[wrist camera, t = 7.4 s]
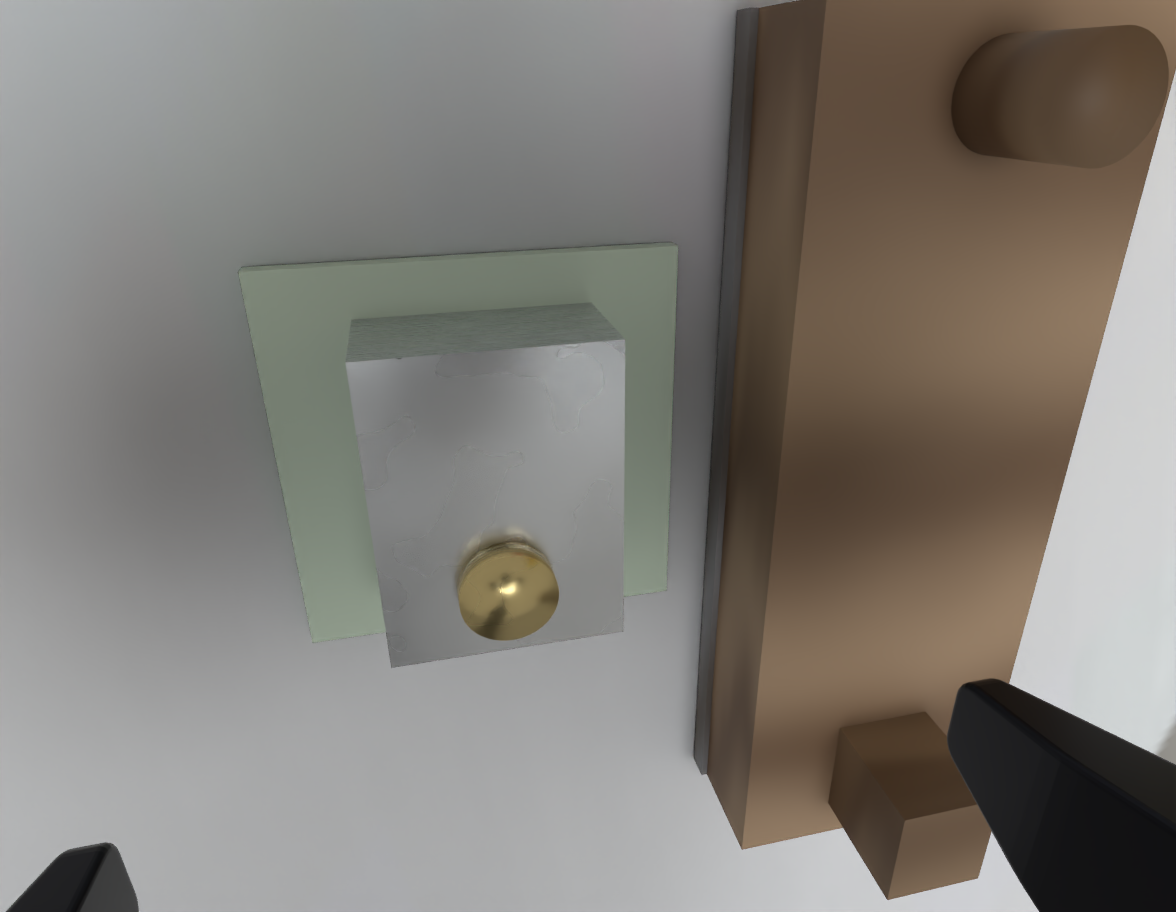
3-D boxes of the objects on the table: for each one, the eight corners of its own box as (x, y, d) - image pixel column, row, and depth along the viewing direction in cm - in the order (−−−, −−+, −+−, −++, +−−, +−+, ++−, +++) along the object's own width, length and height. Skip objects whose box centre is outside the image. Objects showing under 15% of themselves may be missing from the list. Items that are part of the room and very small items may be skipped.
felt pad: (661, 581, 19) (666, 590, 19) (313, 631, 18) (312, 642, 17) (671, 242, 16) (678, 246, 15) (241, 267, 14) (237, 272, 14)
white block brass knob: (594, 564, 18) (630, 647, 15) (390, 592, 17) (391, 685, 15) (591, 302, 16) (633, 348, 13) (351, 319, 15) (343, 372, 12)
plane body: (915, 715, 23) (1057, 886, 18) (693, 758, 22) (783, 954, 17) (1064, 10, 16) (1377, -20, 11) (737, 10, 14) (923, -26, 9)
